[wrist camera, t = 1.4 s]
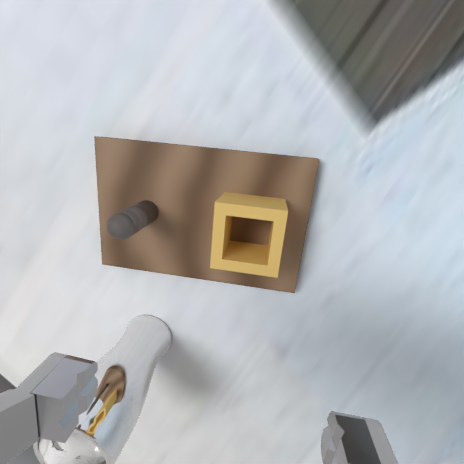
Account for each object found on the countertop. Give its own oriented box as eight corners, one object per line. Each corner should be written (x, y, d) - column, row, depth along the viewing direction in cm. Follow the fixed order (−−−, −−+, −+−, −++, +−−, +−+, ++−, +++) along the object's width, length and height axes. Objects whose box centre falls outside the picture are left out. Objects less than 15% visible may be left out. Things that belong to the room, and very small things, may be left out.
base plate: (317, 158, 27) (334, 164, 19) (293, 286, 31) (300, 332, 24) (103, 136, 29) (42, 134, 21) (109, 259, 34) (61, 293, 26)
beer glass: (172, 312, 35) (103, 430, 21) (177, 358, 37) (118, 493, 23) (120, 310, 36) (20, 420, 22) (128, 354, 38) (42, 482, 24)
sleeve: (285, 199, 27) (288, 211, 22) (276, 255, 29) (277, 277, 24) (224, 191, 28) (214, 202, 23) (219, 247, 30) (209, 268, 25)
